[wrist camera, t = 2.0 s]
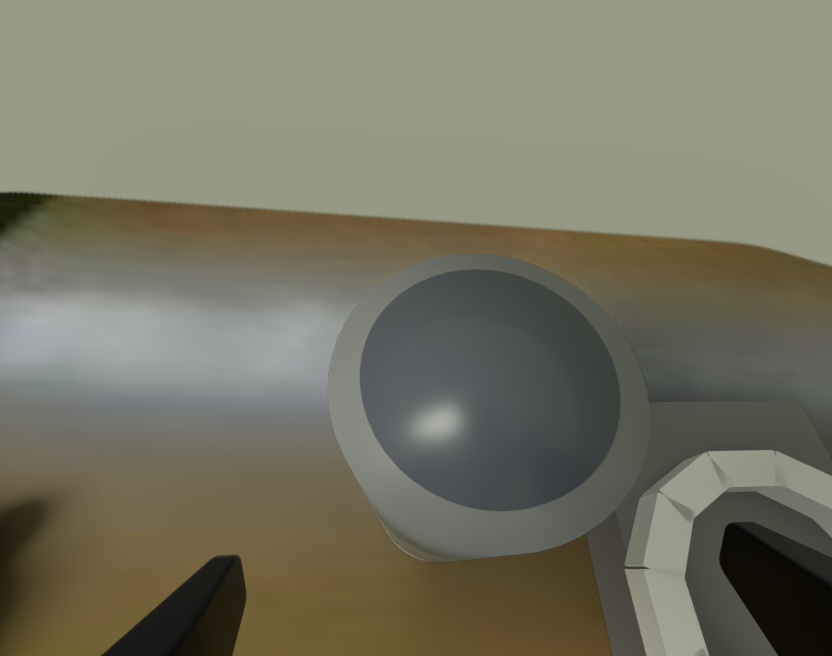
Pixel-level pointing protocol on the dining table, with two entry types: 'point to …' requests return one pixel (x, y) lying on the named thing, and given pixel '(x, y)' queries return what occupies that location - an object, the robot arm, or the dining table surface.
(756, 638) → the grey rectangular block
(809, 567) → the robot arm
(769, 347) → the dining table surface
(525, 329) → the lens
